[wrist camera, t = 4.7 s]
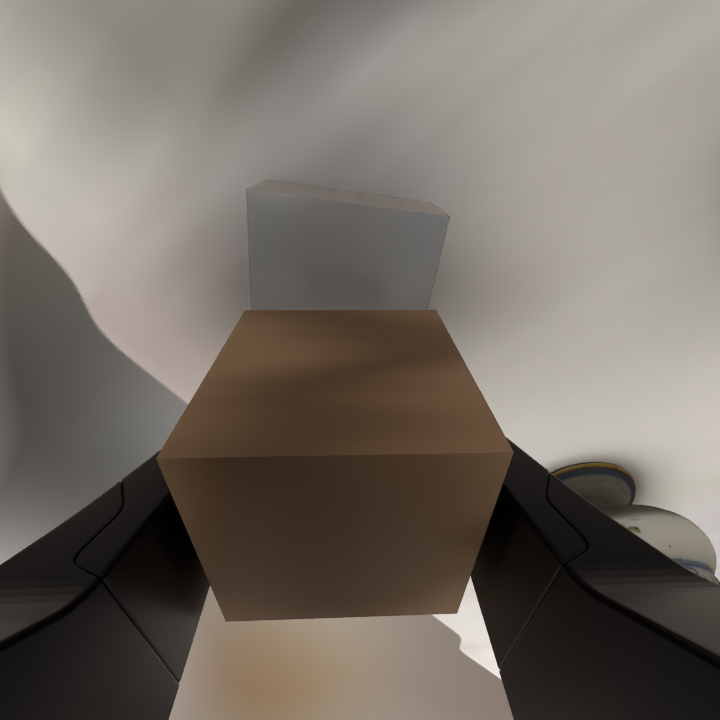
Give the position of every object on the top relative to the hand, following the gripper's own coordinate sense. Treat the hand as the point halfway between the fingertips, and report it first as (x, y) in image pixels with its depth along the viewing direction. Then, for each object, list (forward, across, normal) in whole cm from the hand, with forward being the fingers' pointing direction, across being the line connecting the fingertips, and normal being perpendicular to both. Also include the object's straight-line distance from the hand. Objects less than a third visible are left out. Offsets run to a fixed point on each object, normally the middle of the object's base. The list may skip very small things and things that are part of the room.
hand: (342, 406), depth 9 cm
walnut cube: (+1, 0, 0) cm, 1 cm away
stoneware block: (+11, 0, 0) cm, 11 cm away
